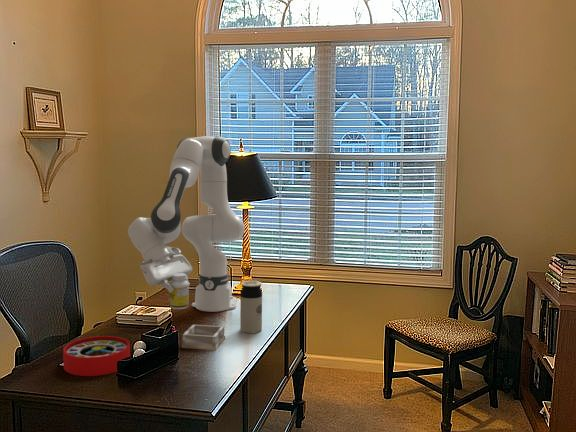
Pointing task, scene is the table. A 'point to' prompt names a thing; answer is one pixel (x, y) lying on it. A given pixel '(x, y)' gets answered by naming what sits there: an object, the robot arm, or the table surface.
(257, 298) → the travel mug
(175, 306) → the pill bottle
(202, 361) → the table surface
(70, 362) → the toy clock
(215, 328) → the grey square tray
